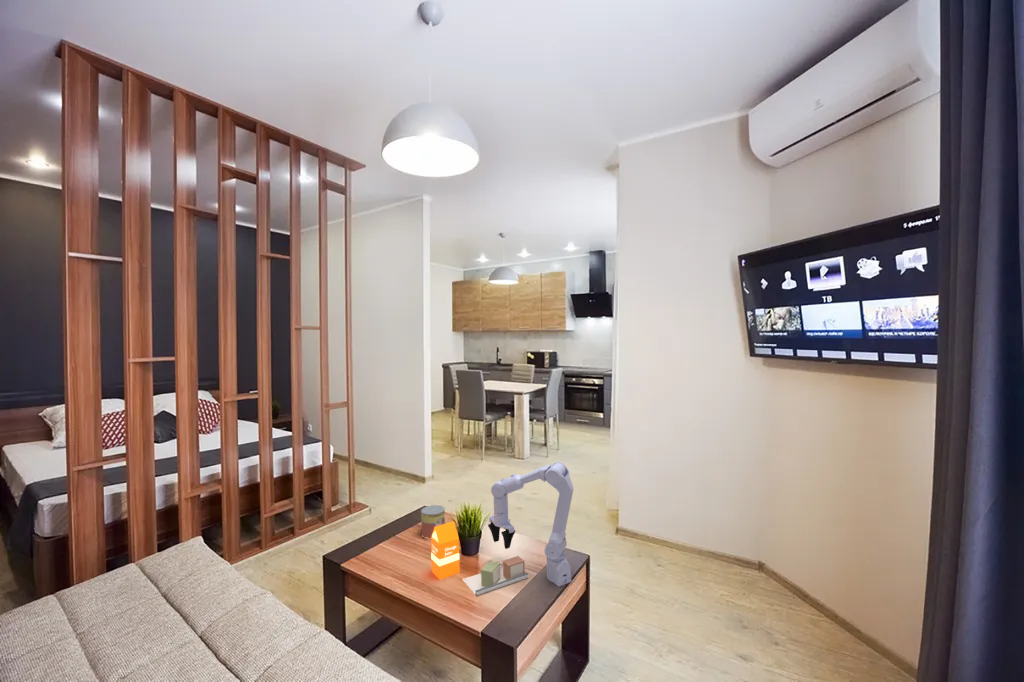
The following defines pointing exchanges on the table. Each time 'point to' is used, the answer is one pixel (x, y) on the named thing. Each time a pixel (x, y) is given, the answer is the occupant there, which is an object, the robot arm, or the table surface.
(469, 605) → the table surface
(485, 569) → the tea box olive
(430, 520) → the canned food
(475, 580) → the shelf board
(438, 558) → the orange juice
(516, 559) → the tea box rust
